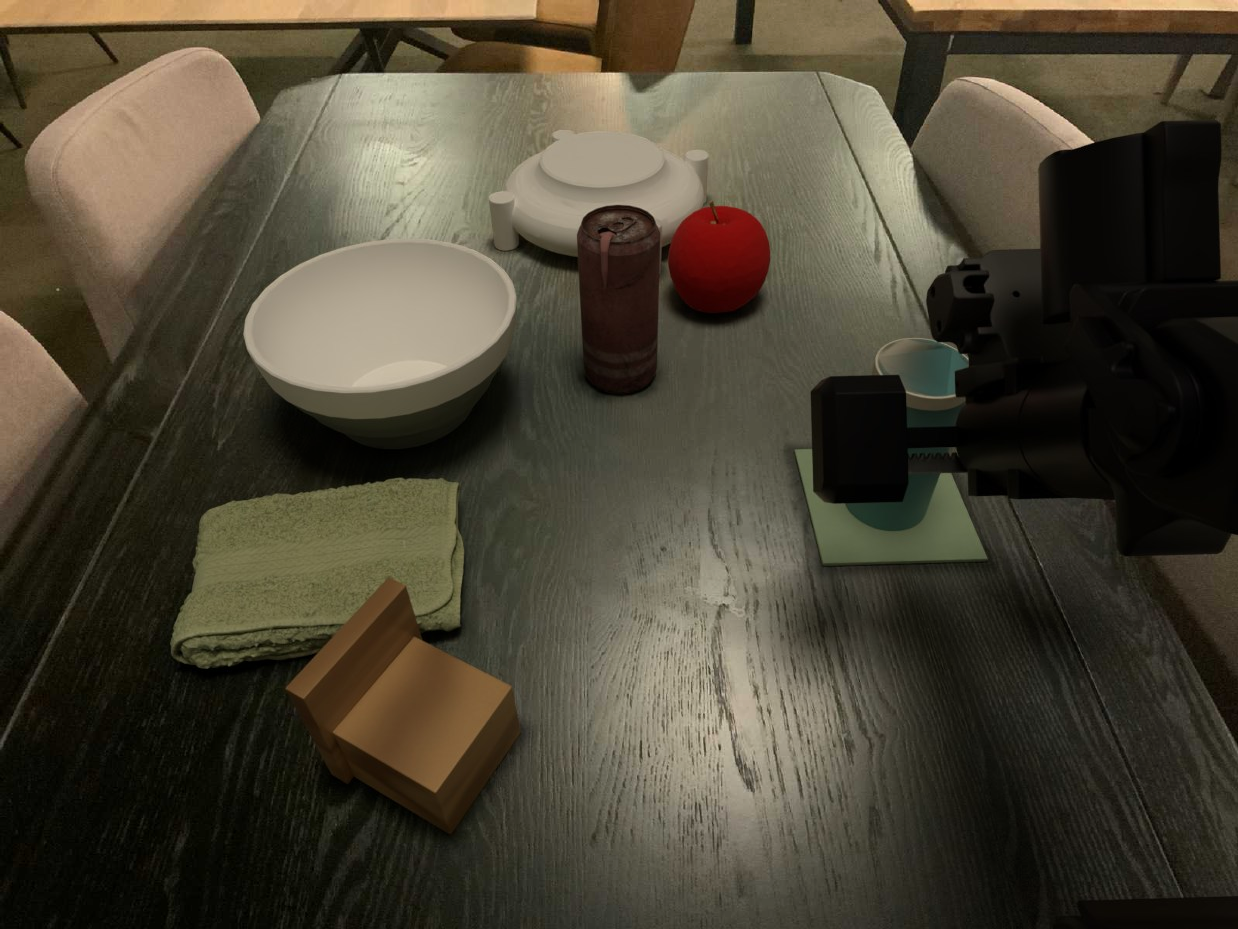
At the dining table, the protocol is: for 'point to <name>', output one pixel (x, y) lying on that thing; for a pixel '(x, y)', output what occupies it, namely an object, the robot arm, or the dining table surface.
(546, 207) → the round stand with pegs
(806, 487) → the mat
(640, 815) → the dining table surface
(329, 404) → the bowl
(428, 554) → the washcloth
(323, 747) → the stepped wooden block
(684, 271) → the fruit
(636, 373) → the can
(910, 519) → the teal cup
